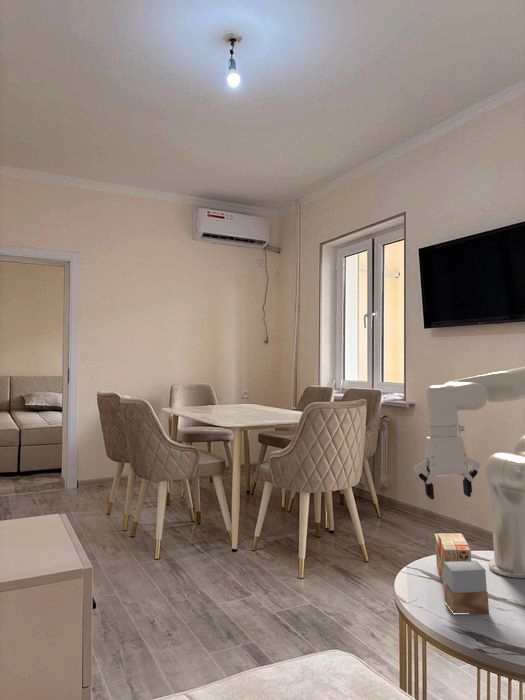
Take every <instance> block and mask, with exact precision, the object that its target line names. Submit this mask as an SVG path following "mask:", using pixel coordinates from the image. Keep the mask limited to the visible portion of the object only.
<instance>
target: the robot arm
mask: <svg viewBox="0 0 525 700" xmlns="http://www.w3.org/2000/svg"><path fill="white" fill-rule="evenodd" d="M521 399H525V366H522V367H521V366H520V367H517V368H512V369H507V370H503V371H502V370H501V371H496V372H491V373H487V374H482V375H476V376H471V377H464V378H459V379H455V380H451V381H450V380H449V381H448V382H447V381H446V382H445V383H443V384H435V385H429V386H428V387H427V388H426V404H427V405H426V406H427V418H428V431H429V433H428V434H429V436H426V438H425V449H424V460H423V461H421V462H420V463H419V462H418V463H417V464H416V465H414V466H413V471H414V472H415V474H416V475H417V477H418V478H419V479H420V480H422V481H423V482H424V489H425V495H426V496H427V498H428V499H430V500H434V499H435V494H434V493H435V492H434V484H433V483H432V482H433V481H434V479H435V477H448V476H462V477H463V479H462V489H463V494H464V496H467V497H468V498H471V496H472V493H473V487H472V486H473V485H472V481H474V478H476V476H477V475H478V471H479V470H480V467H481V463H480V462H478V461H476V460H473V459H471V458H469V457H468V455H467V451H466V449H467V448H466V445H465V441H464V438H463V436H462V435H461V433H462V432H465V426H463V425H460V423H459V422H460V421H459V411H470V412H472V411H473V412H474V411H478V410H481V409H483V408H484V407H485V406H486V405H487V404H488V403H489V402H490V403H505V402H514V401H517V400H521ZM469 464H470V465H472V467H471V469H470V471H469ZM424 468H425V471H426V474H424V473H423V472H422V469H424ZM484 475H485V480H486V482H487V486H488V490H489V498H490V511H491V526H492V541H493V542H492V543H493V554H494V555H493V557H494V558H492V559H491V560H489V562H488V568H489V569H490V570H491V571H492V572H493V573H495V574H498V575H500V576H503V577H507V578H517V579H525V434H523V435H522V436H521V437H520V438H519V439H518V440H517V441H516V443H515V445H514V453H513V452H511V453H510V452H504V451H503V452H495V453H493V454H491V455H490V456H489V457H488V458H487V459H486V460H485V464H484Z"/></svg>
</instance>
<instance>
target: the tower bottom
mask: <svg viewBox="0 0 525 700" xmlns="http://www.w3.org/2000/svg"><path fill="white" fill-rule="evenodd" d="M443 591H444V603H445V602H446V603H447V605H448V606H449V607H450V609H451V610H452V611H453V613H469V614H473V615H488V614H490V608H489V594H488V593H489V592H488V591H487V592H469V593H453V592H452V591H451V590H450V588H449V587H448V586H447V585H446V583H444V586H443Z"/></svg>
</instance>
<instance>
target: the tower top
mask: <svg viewBox="0 0 525 700" xmlns="http://www.w3.org/2000/svg"><path fill="white" fill-rule="evenodd" d="M444 570H445V583H446V585H447V586H448V587H449V588H450V590H451V591H452V592H453V593H469V592H488V589H487V577H486V576H487V575H486V573H487V571H486V569H485V567H483V566H482V565H481V564H480V563H479V562H478V561H477V560H471V561H456V562H444Z"/></svg>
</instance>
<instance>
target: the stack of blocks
mask: <svg viewBox="0 0 525 700" xmlns="http://www.w3.org/2000/svg"><path fill="white" fill-rule="evenodd" d="M433 535H434V536H433V537H434V545H435V557H436V567H437V571H438V575H439V574H440V575H439V577H441V578H442V580H441V582H443V583H442V586H443V585H444V583H445V570H444V562H456V561H472V549H471V548H470V546H469V543H468V542H467V540H466V539H465V537H464V535H463V534H462V533H461V532H460V533H458V532H457V533H456V532H454V533H453V532H452V533H451V532H450V533H443V532H441V533H440V532H439V533H434V534H433ZM441 578H440V579H441Z"/></svg>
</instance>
